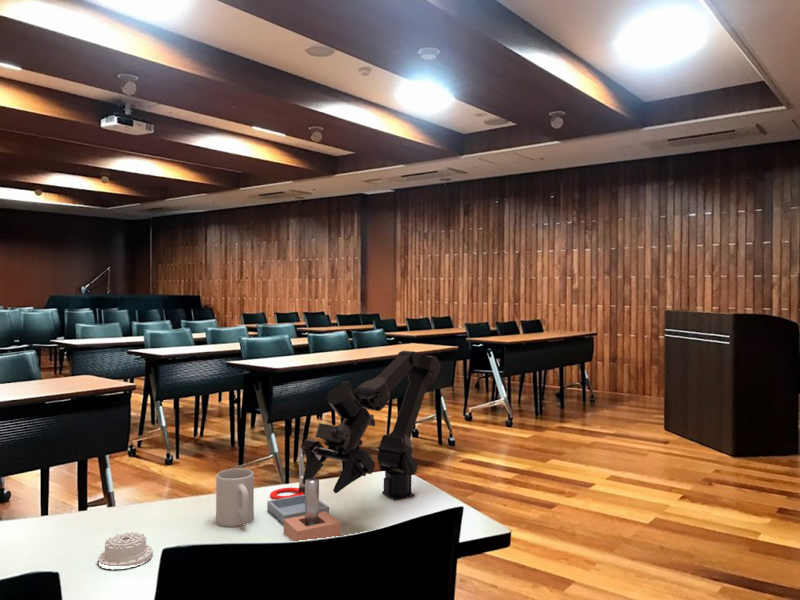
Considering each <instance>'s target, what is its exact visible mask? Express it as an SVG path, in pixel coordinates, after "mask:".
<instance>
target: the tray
mask: <svg viewBox="0 0 800 600" xmlns="http://www.w3.org/2000/svg"><path fill="white" fill-rule="evenodd" d="M266 503H267V504H266V505H267V506H266V507H267V508H266V509H267V510H266V511H267V513H268V514H269V515H270V516H272V517H273V518H275V520H276V521H277V520H278V522H279V524H281V525H282V526H283V527H284V519H288V518H293V517H298V516H304V515H305V495H299V496H294V497H288V498H282V499H277V500H274V499H272V500H268V501H267V502H266ZM324 511H325V512H327V513H328V514H330V506H329V505H327V504H326V503H324V502H323V501H322V500H320V499H319V512H324Z"/></svg>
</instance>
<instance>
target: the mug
mask: <svg viewBox="0 0 800 600" xmlns="http://www.w3.org/2000/svg"><path fill="white" fill-rule="evenodd" d="M254 475H255V474H254V471H253V470H251V469H248V468H231V469H230V468H229V469H223V470H221V471H219V472H218V473H216V475H215V476H216V478H215V480H216V481H215V484H216V486H215V491H216V492H215V495H216V496H215V501H216V502H215V504H216V505H215V523H216V524H217V525H218V526H220V525H221V526H220V527H224V526H226V527H225V528H237V527H236V526H238V527H242V526H241V525H243V526H245V525H244V524H246V525H248V524H247V523H249V524H251V523H252V522H253V521H254V518H255V512H254V511H255V510H254V509H255V507H254V506H255V505H254V499H255V498H254V496H255V495H254V494H255V492H254V489H255V487H254V486H255V485H254V481H255V479H254V478H255V477H254ZM252 520H253V521H252ZM251 521H252V522H251ZM250 522H251V523H250Z"/></svg>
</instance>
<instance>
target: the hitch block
mask: <svg viewBox="0 0 800 600" xmlns="http://www.w3.org/2000/svg"><path fill="white" fill-rule="evenodd" d="M283 534H284V535H285V536H286V537H288V538H289V540H291V539H292V540H291V541H292V542H293V541H299V540H307V539H317V538H326V537H332V536H339V537H341V522H340V521H339V520H338V519H336V518H335V517H334V516H333V515H331V513H329V514H328V513H327V512H325V511H324V512H319V524H315V525H311V526H305V515H304V516H298V517H293V518H288V519H284V526H283Z"/></svg>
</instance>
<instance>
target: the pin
mask: <svg viewBox="0 0 800 600" xmlns="http://www.w3.org/2000/svg"><path fill="white" fill-rule="evenodd" d="M319 500H320V480H319V478H314V477H313V478H310V479H306V480H305V526H311V525H315V524H319Z"/></svg>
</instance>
